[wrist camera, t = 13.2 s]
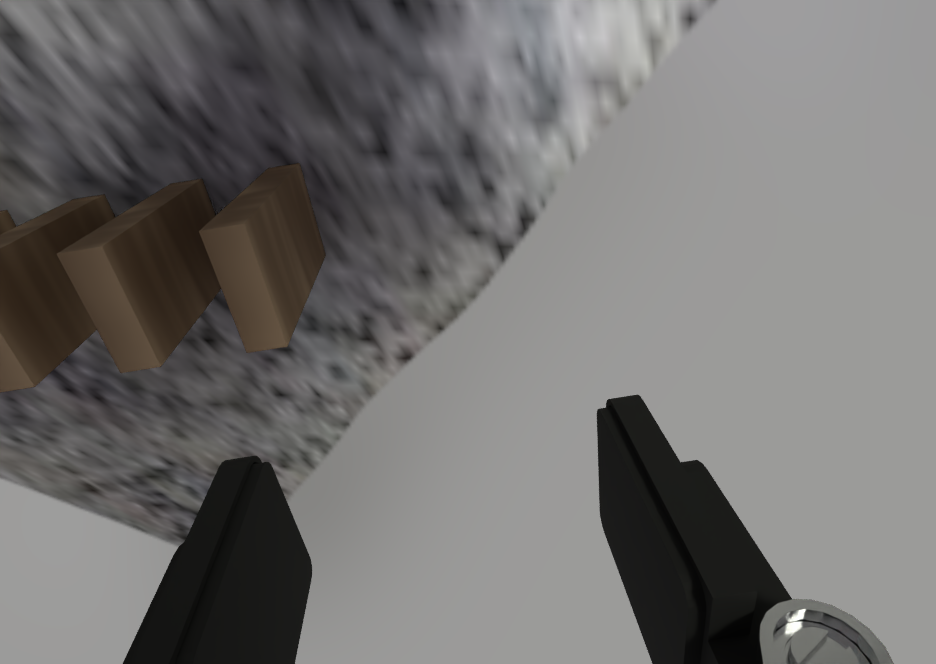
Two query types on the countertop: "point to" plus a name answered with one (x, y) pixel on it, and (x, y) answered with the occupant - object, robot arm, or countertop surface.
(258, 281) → the walnut domino
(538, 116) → the countertop surface
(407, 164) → the countertop surface
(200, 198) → the walnut domino
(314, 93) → the countertop surface
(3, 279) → the walnut domino
